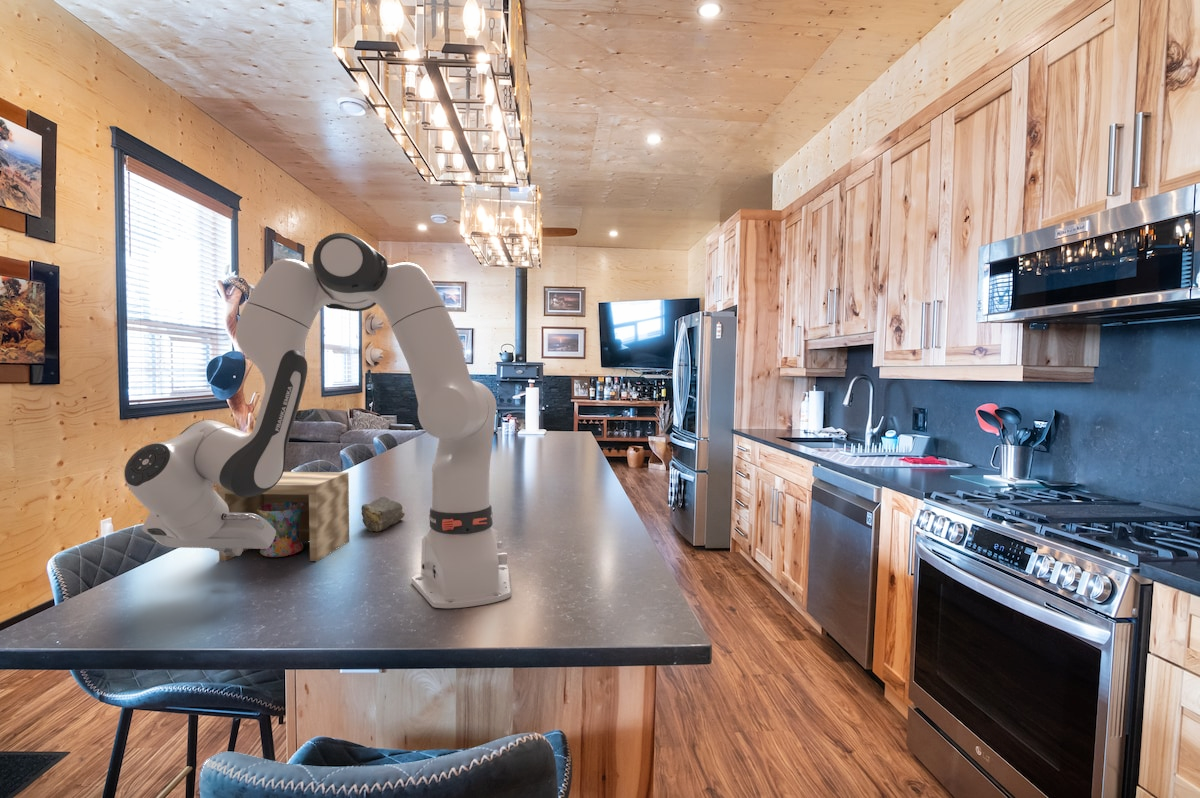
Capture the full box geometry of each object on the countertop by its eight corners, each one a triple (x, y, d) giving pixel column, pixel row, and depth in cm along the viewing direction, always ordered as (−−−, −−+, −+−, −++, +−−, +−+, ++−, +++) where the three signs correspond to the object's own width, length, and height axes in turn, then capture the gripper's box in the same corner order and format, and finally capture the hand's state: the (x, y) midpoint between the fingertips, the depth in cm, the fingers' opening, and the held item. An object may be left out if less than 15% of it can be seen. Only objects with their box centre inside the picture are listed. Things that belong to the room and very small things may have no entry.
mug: (294, 559, 125) (293, 511, 125) (249, 560, 125) (248, 511, 124) (316, 543, 137) (316, 498, 137) (276, 544, 137) (275, 499, 136)
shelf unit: (316, 562, 124) (315, 485, 123) (219, 560, 124) (217, 484, 124) (349, 540, 139) (348, 472, 139) (262, 539, 140) (261, 471, 139)
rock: (400, 515, 146) (359, 506, 144) (393, 541, 146) (352, 532, 144) (410, 498, 163) (374, 490, 161) (404, 521, 163) (367, 513, 161)
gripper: (263, 500, 105) (293, 538, 115) (151, 498, 105) (191, 536, 115) (248, 531, 101) (281, 568, 111) (131, 529, 101) (175, 566, 111)
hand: (234, 552), depth 113 cm, fingers closed
